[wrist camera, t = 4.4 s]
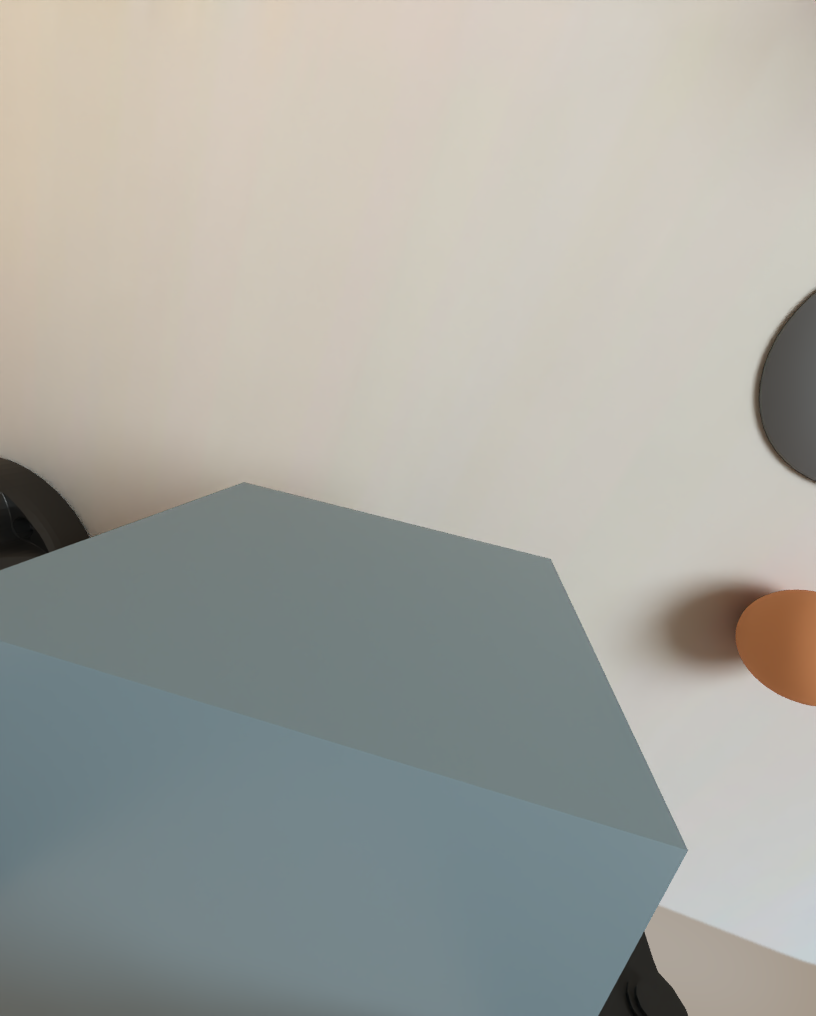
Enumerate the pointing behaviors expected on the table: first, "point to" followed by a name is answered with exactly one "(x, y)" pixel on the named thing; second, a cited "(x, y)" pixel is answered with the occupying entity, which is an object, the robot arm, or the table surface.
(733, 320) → the table surface
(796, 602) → the brown egg
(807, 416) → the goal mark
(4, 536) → the robot arm
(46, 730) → the blue-grey block
